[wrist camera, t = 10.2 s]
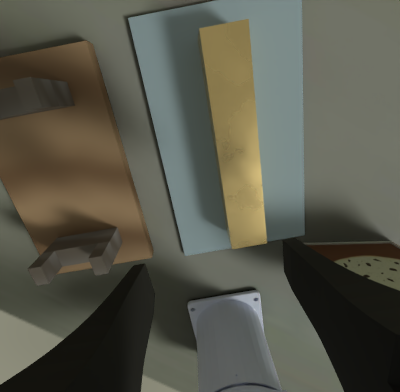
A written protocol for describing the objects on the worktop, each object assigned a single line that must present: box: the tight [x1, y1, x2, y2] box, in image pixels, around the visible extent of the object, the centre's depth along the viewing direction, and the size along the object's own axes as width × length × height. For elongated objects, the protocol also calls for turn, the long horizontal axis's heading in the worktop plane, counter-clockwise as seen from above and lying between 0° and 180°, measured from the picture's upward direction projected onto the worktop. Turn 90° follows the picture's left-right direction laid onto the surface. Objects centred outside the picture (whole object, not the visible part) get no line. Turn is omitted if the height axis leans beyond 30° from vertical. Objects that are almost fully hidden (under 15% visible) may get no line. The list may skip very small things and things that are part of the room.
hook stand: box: [0, 41, 154, 286], centre depth 18 cm, size 18×10×6 cm, turn 10°
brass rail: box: [198, 19, 267, 249], centre depth 19 cm, size 16×3×3 cm, turn 10°
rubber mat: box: [128, 0, 305, 256], centre depth 20 cm, size 20×12×1 cm, turn 10°
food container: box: [304, 241, 400, 290], centre depth 21 cm, size 12×6×10 cm, turn 90°
